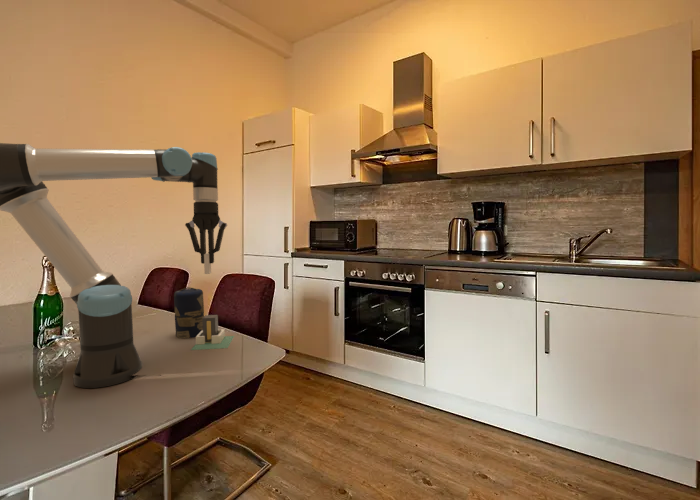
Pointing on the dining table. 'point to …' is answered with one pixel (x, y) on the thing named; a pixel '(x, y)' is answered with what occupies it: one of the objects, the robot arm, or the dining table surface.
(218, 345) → the board
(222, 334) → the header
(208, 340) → the plug
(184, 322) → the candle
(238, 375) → the dining table surface
